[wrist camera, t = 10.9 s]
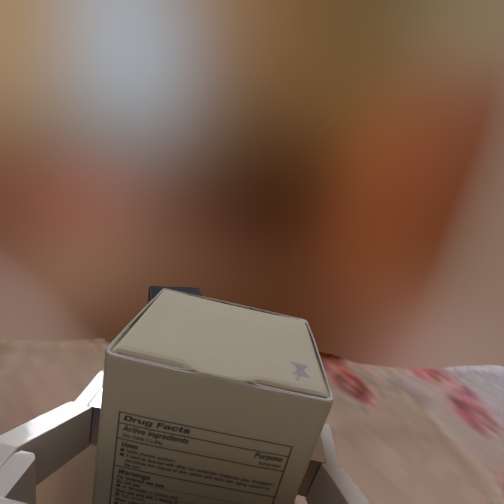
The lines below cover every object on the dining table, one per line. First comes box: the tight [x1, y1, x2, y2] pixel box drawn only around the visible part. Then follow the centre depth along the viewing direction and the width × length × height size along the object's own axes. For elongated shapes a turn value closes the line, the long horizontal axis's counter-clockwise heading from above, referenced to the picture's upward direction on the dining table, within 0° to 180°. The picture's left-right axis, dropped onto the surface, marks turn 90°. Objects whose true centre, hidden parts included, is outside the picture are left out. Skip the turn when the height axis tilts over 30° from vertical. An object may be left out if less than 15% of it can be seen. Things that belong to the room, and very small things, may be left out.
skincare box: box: [92, 288, 333, 504], centre depth 10 cm, size 6×4×12 cm
